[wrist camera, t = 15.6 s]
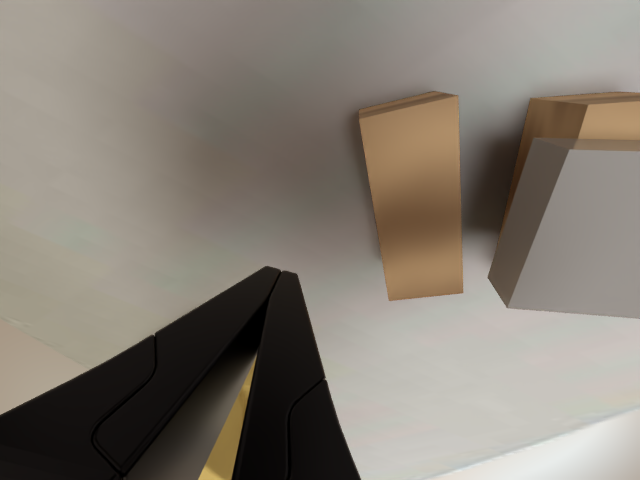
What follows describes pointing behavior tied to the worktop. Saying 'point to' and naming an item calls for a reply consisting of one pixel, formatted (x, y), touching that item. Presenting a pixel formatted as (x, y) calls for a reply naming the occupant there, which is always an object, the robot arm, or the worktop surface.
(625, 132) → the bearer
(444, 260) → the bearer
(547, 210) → the slab
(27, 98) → the worktop surface
